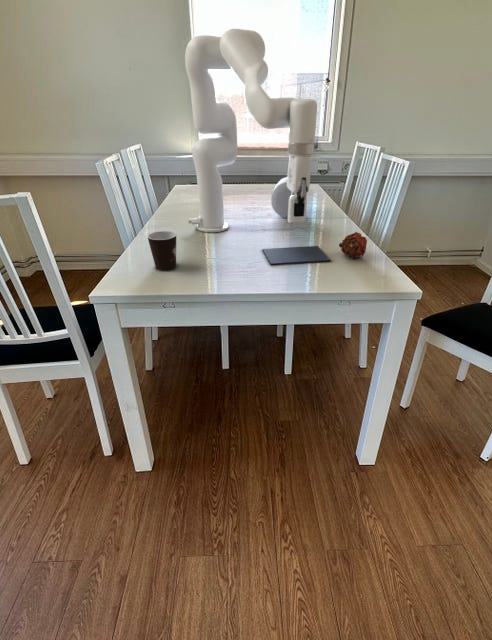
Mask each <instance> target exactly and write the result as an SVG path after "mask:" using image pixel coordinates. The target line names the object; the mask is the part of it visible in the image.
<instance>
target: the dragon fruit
mask: <svg viewBox="0 0 492 640" xmlns="http://www.w3.org/2000/svg"><path fill="white" fill-rule="evenodd" d="M367 243H368V240H367V238H366V237H365V236H362V233H360V232H358V231H354V233H350V234H348V235H346V236H344V238H343V239H342V242H339V244H338V247H339V248H340V250H341V252H342V254H343V255H345V256H346V257H348V258H350V259H353V260H354V259H356V258H358V257H363V256H365V254H366V252H367V251H366V250H367Z"/></svg>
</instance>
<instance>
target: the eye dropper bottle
mask: <svg viewBox="0 0 492 640" xmlns="http://www.w3.org/2000/svg"><path fill="white" fill-rule="evenodd" d="M298 192H301V190H298ZM300 195H301V194H300ZM298 197H299V195H298ZM294 203H296V193H294V195H292V196H290V197H289V204H288V218H287V222H288V223H289V224H294V225H295V224H304V223H305V222H306V219H307V218H306V217H307V204H308V198H307V197H305V208H304V216H300V217H295V216H294Z"/></svg>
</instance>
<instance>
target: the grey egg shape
mask: <svg viewBox="0 0 492 640" xmlns="http://www.w3.org/2000/svg"><path fill="white" fill-rule="evenodd" d="M271 193H272V194H271V196H270V197H271V198H270V201H271V202H270V203H271V206H272V209H273V211H274V212H275V213H276V214H277V216H280V217H281V218H283V219H288V204H289V197H290V196H291V191H290V190H289V189H288V188H287V176H285V177H283V178H281V179H280V180H279V181H278V182H277V183H276V185H275V186H274V188H273V190H272V192H271ZM307 197H308V192H307V193H306V198H307ZM268 215H270V213H269V212H268Z"/></svg>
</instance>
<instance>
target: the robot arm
mask: <svg viewBox="0 0 492 640" xmlns="http://www.w3.org/2000/svg"><path fill="white" fill-rule="evenodd" d="M184 53H185V54H184V64H185V71H186V74H187V78H188V82H189V88H190V98H191V109H192V120H193V126H194V129H195V130H196V131H197V132H198V133H199V134H202V135H212V134H217V137H206V138H201V139H198V140H197V141H195V143H194V144H193V146H192V148H191V155H192V160H193V164H194V168H195V176H196V184H197V186H196V188H197V196H198V197H197V198H198V212H199V213H198V216H196V217H194V218H193V217H189V218H188V219H187V220H188V224H191V225H196V230H197V231H199V232H203V233H221V232H224V231H226V230H228V229H229V224H228V223H227V222H225V216H224V215H225V214H224V212H225V211H224V190H223V189H224V188H223V187H224V186H223V185H224V184H223V178H222V176H221V173H220V172H219V170H218V168H219V167H220V168H221V167H225V166H231V165H233V164H235V162H236V160H237V157H238V126H237V116H236V112H235V109H234V108H233V106H232V105H231V104H230V103H228V102H226V101H218V100H217V87H216V84H215V81H214V79H213V76H212V75H211V74H210V72H209V71H226V72H227V71H233V73H234V74H235V76H236V77H237V78H238V80H239V81H240V83H241V84H242V86H243V98H244V103H245V106H246V108H247V111H248V112H249V113H250V114H251V116H252V117H253V119H254V120H255V121H256V122H257V124H259V126H260V127H262V128H264V129H266V130H273V129H288V143H287V145H288V146H287V156H289V157H288V158H289V159H288V163H287V164H288V165H287V175H286V177H287V188H288V189H289V190H290V191H291V196H292V195H294V193H296V203H294V216H295V217H300V216H304V208H305V197H306V193H307V194H308V193H309V191H310V187H311V171H312V170H311V168H312V162H311V161H312V157H314V154H315V143H316V142H315V141H316V128H317V116H318V115H317V114H318V102H317V101H316V100H315V99H312V98H296V97H295V98H294V97H284V96H283V97H280V96H279V97H270V96H269V95H268V93H267V92H266V91H265V90H264V89H263V87H262V86H263V85H264V84H265V82H266V80H267V78H268V74H269V67H268V64H267V62H266V61H265V60H264V59H265V56H266V45H265V41H264V39H263V37H262V35H261V34H260V33H259V32H257V31H256V30H250V29H242V28H230V29H228V30H226V31H225V32H224V33H223V34H222V35H221V36H216V35H197V36H194V37H192V38H191V39H190V40H189V41H188V44H187V45H186V48H185V52H184ZM298 190H301V192H298ZM300 194H301V195H300ZM298 195H299V197H298ZM306 198H307V197H306Z"/></svg>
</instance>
